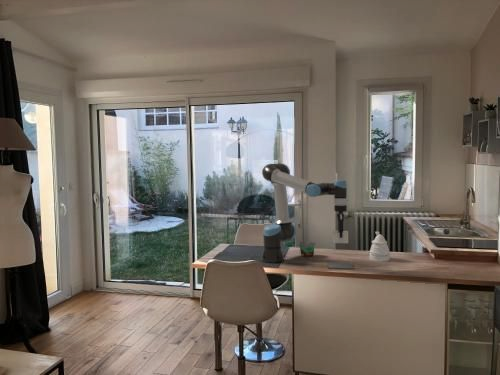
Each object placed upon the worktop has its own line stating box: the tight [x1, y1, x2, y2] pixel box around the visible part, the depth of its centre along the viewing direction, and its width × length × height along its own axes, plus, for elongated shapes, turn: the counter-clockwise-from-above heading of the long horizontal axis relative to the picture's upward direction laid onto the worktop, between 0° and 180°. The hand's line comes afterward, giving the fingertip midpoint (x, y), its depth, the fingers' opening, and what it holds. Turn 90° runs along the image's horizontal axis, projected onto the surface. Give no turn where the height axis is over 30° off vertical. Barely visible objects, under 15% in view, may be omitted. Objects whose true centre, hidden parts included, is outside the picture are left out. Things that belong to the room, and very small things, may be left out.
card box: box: [332, 230, 349, 244], centre depth 263 cm, size 5×9×7 cm, turn 81°
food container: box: [298, 240, 316, 258], centre depth 291 cm, size 12×6×10 cm, turn 112°
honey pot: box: [369, 231, 391, 262], centre depth 281 cm, size 13×13×18 cm
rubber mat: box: [327, 262, 354, 270], centre depth 264 cm, size 15×13×1 cm
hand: (340, 241), depth 263 cm, fingers closed on card box, 5 cm apart
